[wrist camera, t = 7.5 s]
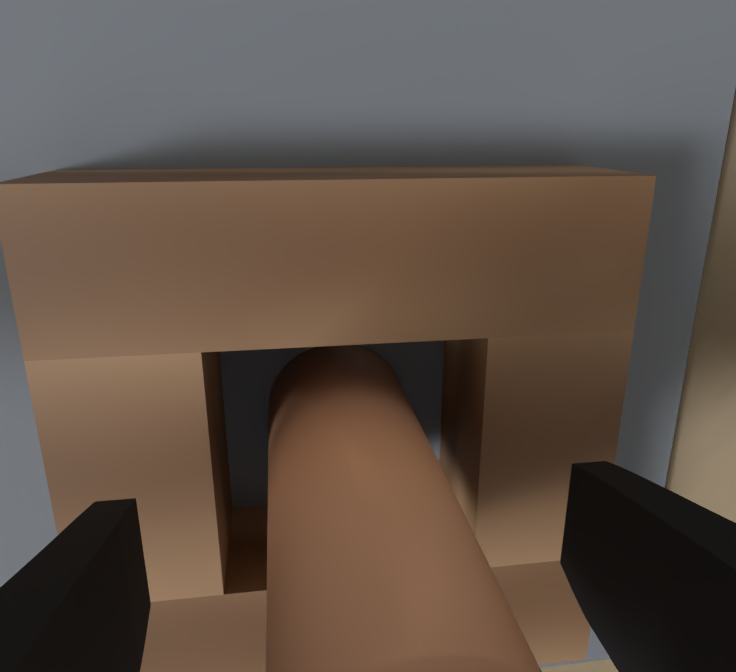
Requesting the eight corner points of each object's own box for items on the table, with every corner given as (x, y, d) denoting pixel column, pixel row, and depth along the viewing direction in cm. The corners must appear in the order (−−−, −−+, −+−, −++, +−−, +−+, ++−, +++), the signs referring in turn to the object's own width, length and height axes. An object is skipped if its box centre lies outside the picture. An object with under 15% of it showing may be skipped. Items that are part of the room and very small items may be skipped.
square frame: (535, 572, 17) (586, 658, 15) (124, 615, 16) (93, 721, 13) (578, 164, 14) (656, 175, 11) (54, 169, 12) (-11, 184, 10)
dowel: (405, 456, 16) (560, 848, 7) (276, 473, 15) (282, 907, 7) (399, 336, 15) (576, 630, 6) (261, 350, 14) (246, 685, 6)
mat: (626, 642, 19) (634, 655, 19) (11, 718, 17) (3, 735, 17) (736, -4, 14) (752, -9, 13) (-176, -32, 11) (-195, -38, 11)
